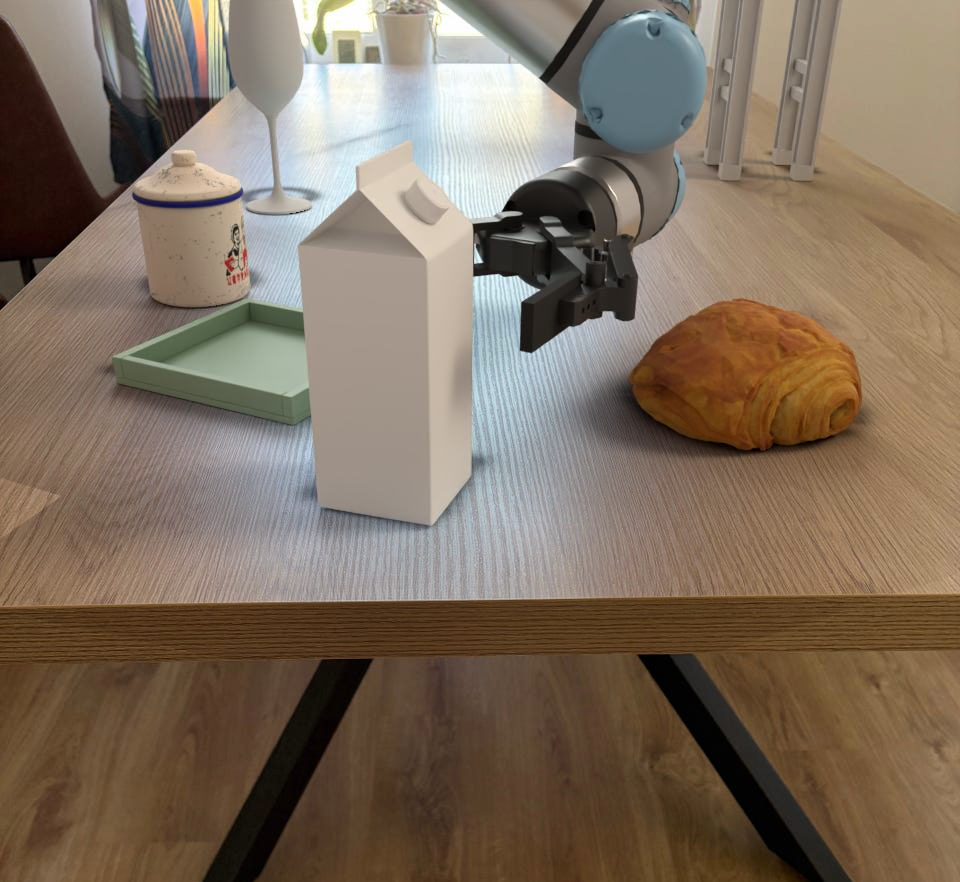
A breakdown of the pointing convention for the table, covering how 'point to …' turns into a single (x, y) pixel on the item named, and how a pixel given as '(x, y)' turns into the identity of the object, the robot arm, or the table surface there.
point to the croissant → (749, 377)
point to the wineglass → (267, 76)
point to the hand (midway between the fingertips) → (417, 308)
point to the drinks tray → (229, 362)
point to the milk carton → (390, 344)
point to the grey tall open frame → (799, 89)
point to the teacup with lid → (193, 234)
